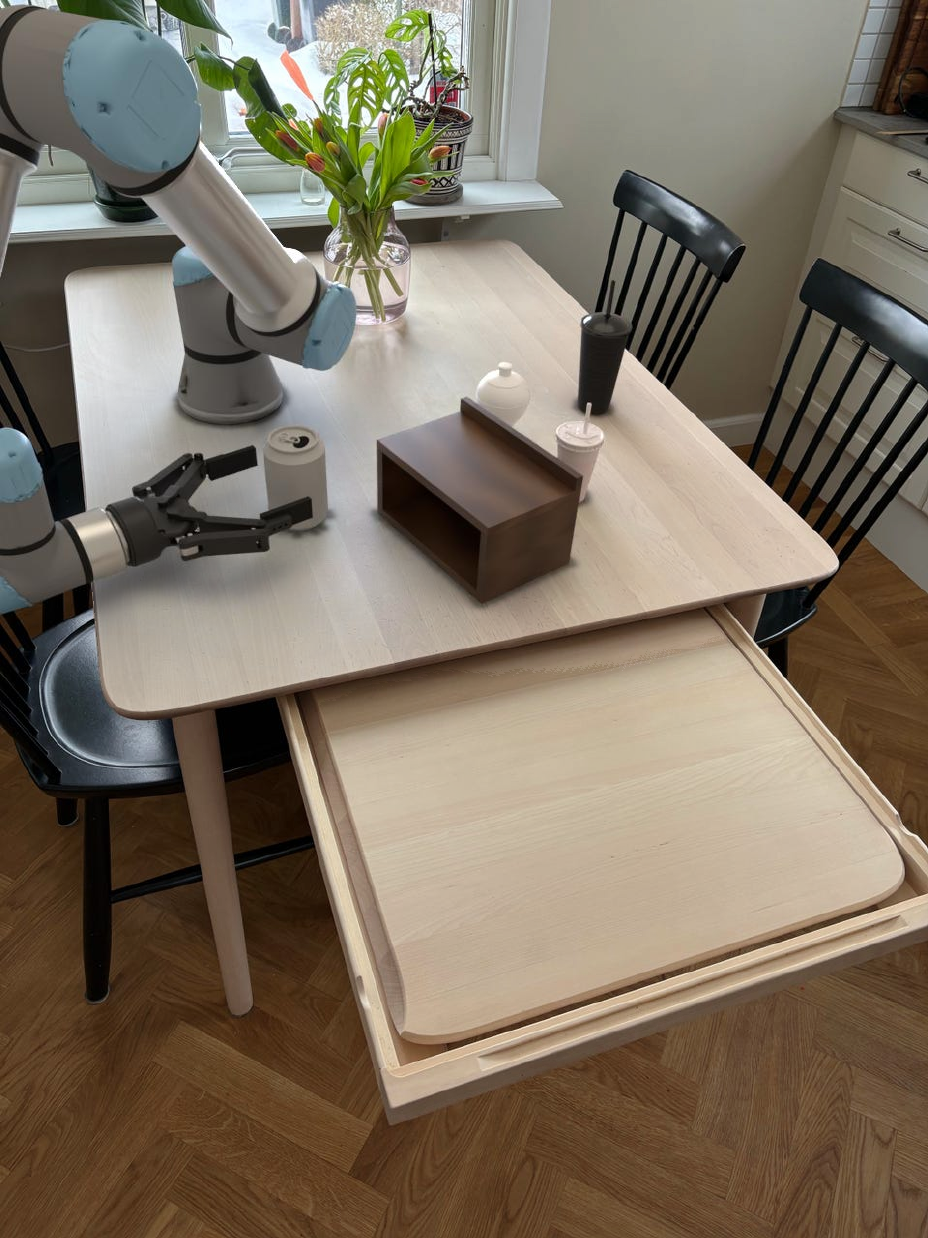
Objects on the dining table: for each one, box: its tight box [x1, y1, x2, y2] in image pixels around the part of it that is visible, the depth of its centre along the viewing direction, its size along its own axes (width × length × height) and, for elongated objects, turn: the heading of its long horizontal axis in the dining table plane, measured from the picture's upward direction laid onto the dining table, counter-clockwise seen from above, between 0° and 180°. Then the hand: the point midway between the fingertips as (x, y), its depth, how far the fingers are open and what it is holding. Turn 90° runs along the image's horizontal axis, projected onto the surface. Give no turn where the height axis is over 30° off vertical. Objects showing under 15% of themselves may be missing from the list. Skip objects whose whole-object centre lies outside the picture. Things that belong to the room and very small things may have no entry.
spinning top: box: [475, 361, 531, 428], centre depth 137 cm, size 8×8×12 cm
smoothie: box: [554, 403, 605, 503], centre depth 126 cm, size 6×6×14 cm
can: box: [262, 424, 329, 532], centre depth 120 cm, size 8×8×12 cm
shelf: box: [376, 396, 583, 604], centre depth 118 cm, size 14×22×13 cm, turn 38°
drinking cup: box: [577, 279, 633, 416], centre depth 143 cm, size 8×8×20 cm
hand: (282, 480), depth 119 cm, fingers open, 13 cm apart
